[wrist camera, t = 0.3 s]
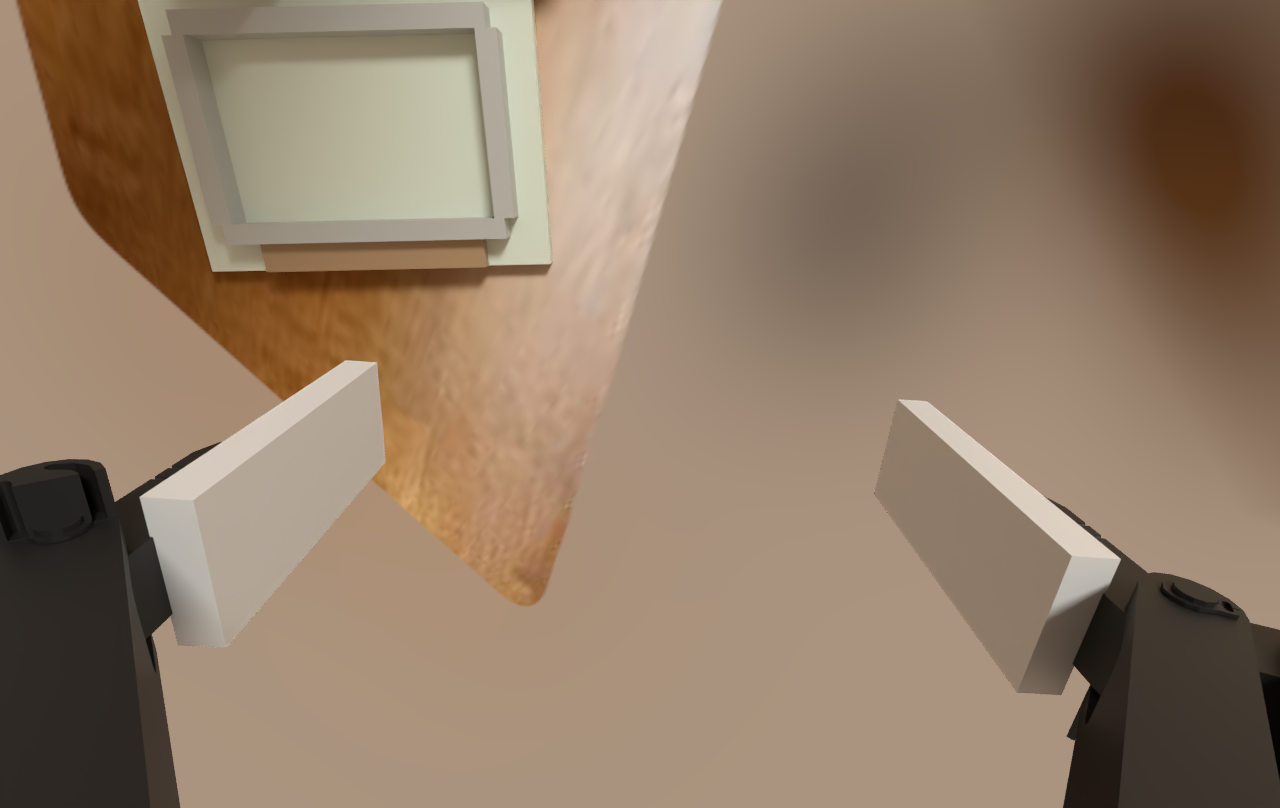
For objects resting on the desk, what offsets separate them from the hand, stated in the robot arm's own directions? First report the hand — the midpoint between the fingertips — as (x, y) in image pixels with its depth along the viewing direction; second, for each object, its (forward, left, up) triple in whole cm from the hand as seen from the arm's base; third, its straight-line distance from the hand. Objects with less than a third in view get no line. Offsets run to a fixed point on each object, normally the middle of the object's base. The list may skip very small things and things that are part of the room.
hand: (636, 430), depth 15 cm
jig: (-9, -17, -27) cm, 33 cm away
